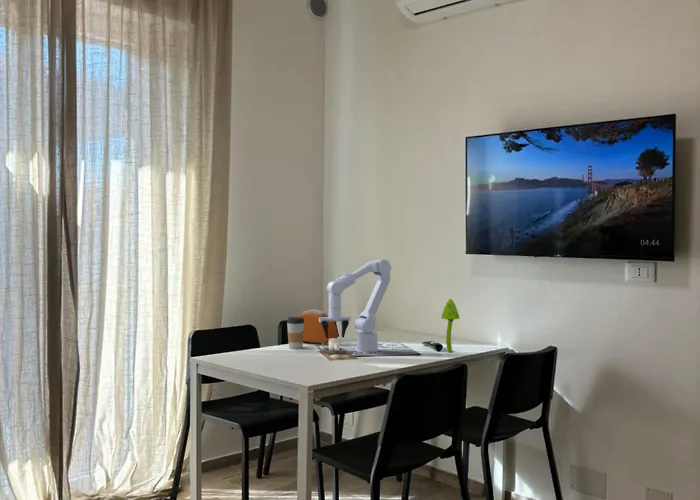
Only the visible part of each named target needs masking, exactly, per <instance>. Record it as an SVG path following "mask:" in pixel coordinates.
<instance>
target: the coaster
mask: <svg viewBox="0 0 700 500" xmlns="http://www.w3.org/2000/svg"><path fill="white" fill-rule="evenodd" d="M330 357H331V358H335V359H345V358H350V355H345V354H335V355H331V356H330Z"/></svg>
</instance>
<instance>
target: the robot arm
mask: <svg viewBox="0 0 700 500" xmlns="http://www.w3.org/2000/svg"><path fill="white" fill-rule="evenodd" d="M391 270H392V266H391V264H390V261H388V260H387V259H379V258H374V259H371V260H369V261H368V262H367V263H365V264H364V265H362V266H361V267H359V268H357V269H356V270H355V271H353V272H344V273H343V275H341V276H339V278H338V277H337V278H335V280H333V281H330V282H328V284H327V286H326V288H325V289H326V291H327V292H328V316H329V317H322V318H319V322H321V325H322V327H323V329H324V332H325V338H328V323H327V322H334V323H337V322H340V324H341V338H345V335H346V332H347V331H346V330H347V329H348V326H349V325H350V324H349V323H350V322H351V321H352V319H351V316H342V294H343V292H344V290H346V289H348V288H349V287H351V286H352V285H354V284H355V283H356V280H358V279H359V278H362V277H363V276H365V275H366V274H369V273H373V274H374V275H375V278H376V280H377V281H376V283H375V286H374V288H373V290H372V292H371V295H370V297H369V299H368V301H367V304H366V306H365V307H364V310H363V311H362V312H361V313H360V314H359V315H358V317H357V318H356V319H354V322H353V323H354V328H355V329H356V348H355V349H354V351H356V352H357V353H368V352H373V353H374V352H379V351H378V348H379V347H378V346H379V345H378V343H379V342H378V341H379V339H378V338H379V337H378V334H377V332H376V331H374V330H375V327H376V321H377V318H376V314H377V312H378V309H379V307H380V304H381V302H382V300H383V298H384V296H385V293H386V291H387V289H388V286H389V284H390V281H391Z"/></svg>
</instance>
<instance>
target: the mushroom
mask: <svg viewBox="0 0 700 500" xmlns="http://www.w3.org/2000/svg"><path fill="white" fill-rule="evenodd" d="M440 317H441V319H443V320H447V321H448V322H447V328H446V335H445V341H446V349H447V352H448V353H453V348H452V328H453V321H454V320H460V315H459V311H458V308H457V306H456V304H455V301H453V300H452V298H449V299H448V301H446V304H445V306H444V308H443V310H442V314H441V316H440Z"/></svg>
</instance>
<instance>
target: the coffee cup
mask: <svg viewBox="0 0 700 500" xmlns="http://www.w3.org/2000/svg"><path fill="white" fill-rule="evenodd" d="M286 325H287V340H288V348H289V349H290V350H301V349H303V346H304V345H303V343H304V341H303V334H304V319H303V317H298V316H289V317H287V320H286Z"/></svg>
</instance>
